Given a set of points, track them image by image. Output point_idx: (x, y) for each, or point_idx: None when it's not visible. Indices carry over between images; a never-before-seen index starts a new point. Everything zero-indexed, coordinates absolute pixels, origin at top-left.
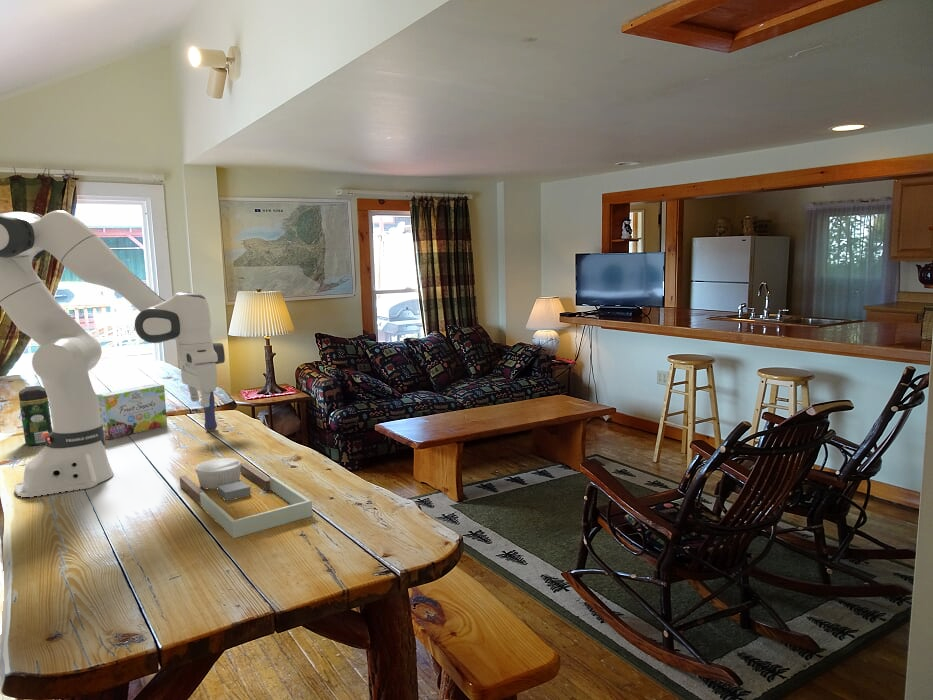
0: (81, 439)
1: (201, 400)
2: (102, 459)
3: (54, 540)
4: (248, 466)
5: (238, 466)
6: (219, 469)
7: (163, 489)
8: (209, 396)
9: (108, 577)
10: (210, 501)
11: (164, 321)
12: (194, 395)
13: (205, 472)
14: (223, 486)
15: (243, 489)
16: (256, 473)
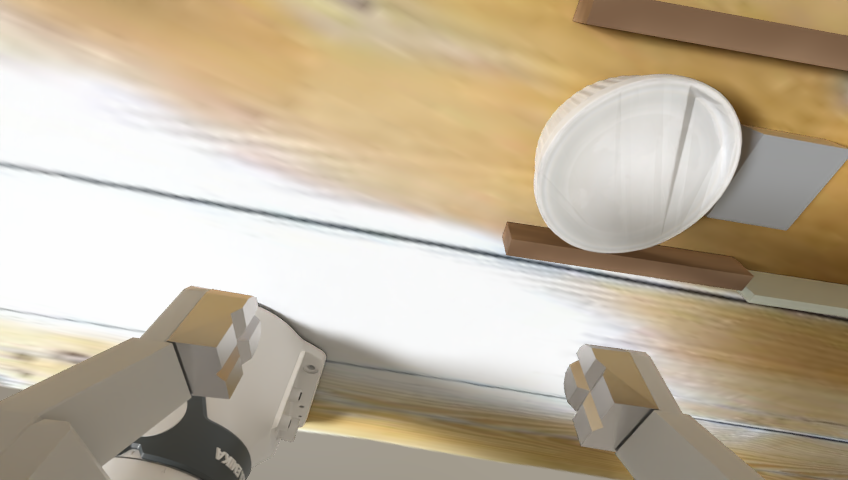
0: (243, 476)
1: (622, 456)
2: (250, 368)
3: (569, 443)
4: (668, 15)
5: (739, 124)
6: (681, 197)
7: (484, 272)
8: (750, 474)
9: (793, 447)
10: (840, 314)
11: None
12: (225, 379)
13: (654, 244)
14: (733, 207)
15: (831, 172)
16: (793, 49)
